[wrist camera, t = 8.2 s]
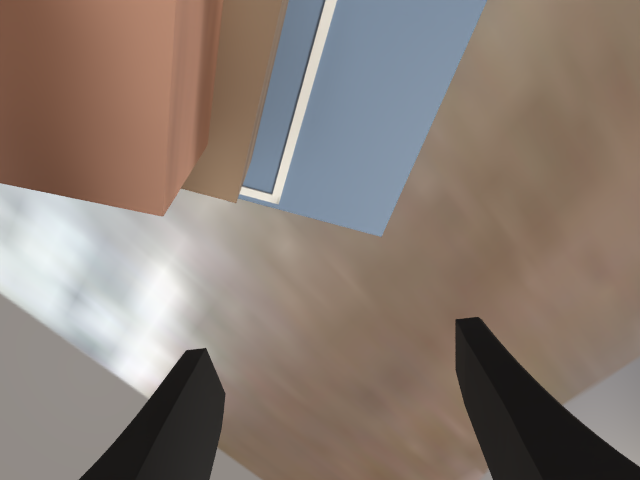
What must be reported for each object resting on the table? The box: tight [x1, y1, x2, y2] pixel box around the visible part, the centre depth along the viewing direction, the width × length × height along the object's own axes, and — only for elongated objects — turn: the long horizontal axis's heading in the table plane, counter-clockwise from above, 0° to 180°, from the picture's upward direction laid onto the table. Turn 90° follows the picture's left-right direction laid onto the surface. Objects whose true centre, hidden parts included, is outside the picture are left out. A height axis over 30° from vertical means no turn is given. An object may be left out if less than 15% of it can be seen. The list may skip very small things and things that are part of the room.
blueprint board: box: [238, 0, 487, 237], centre depth 17 cm, size 18×16×1 cm
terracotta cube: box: [0, 0, 224, 216], centre depth 12 cm, size 5×5×5 cm
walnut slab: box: [181, 0, 289, 203], centre depth 15 cm, size 8×8×4 cm
